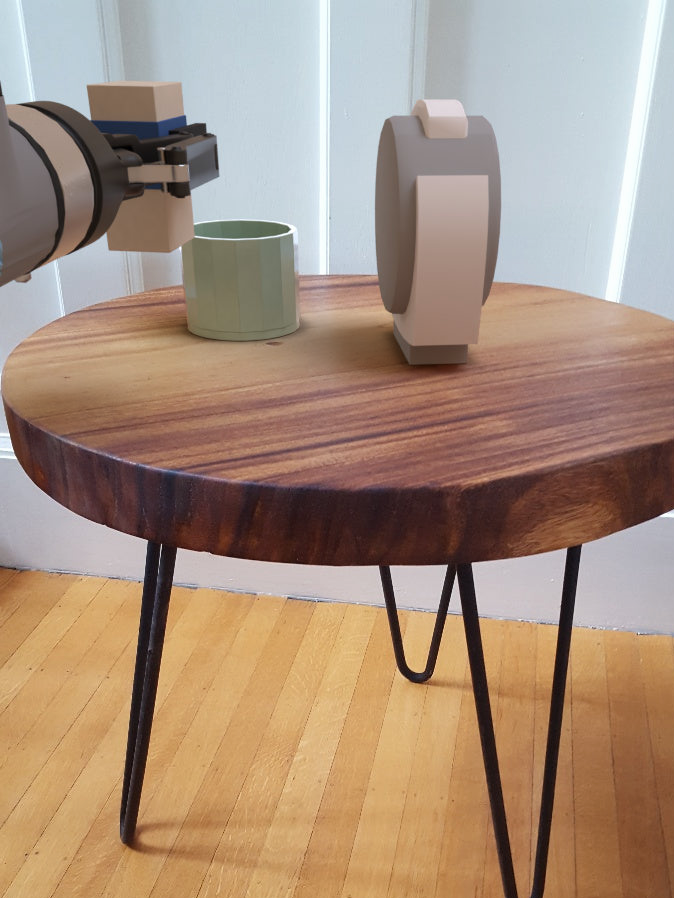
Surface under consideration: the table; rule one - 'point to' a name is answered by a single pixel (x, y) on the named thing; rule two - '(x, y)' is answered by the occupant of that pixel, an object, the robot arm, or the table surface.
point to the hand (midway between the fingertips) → (166, 143)
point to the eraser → (155, 213)
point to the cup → (241, 279)
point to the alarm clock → (437, 227)
